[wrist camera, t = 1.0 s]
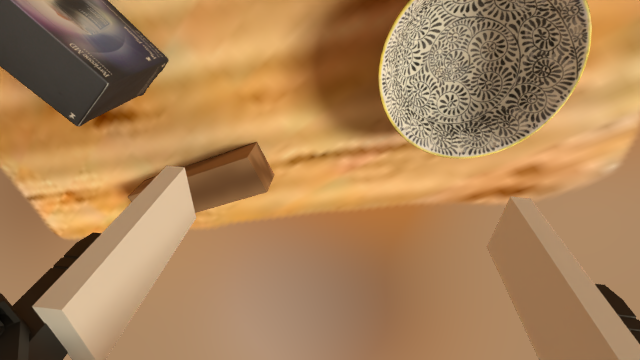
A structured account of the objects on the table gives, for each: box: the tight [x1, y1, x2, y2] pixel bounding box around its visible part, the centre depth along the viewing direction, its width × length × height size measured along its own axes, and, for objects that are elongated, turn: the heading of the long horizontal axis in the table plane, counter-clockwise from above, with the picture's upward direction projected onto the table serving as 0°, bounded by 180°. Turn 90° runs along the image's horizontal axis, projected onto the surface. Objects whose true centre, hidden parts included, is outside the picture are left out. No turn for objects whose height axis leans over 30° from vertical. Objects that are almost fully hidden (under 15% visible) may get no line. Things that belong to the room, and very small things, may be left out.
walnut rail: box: [128, 142, 274, 213], centre depth 42 cm, size 5×18×4 cm, turn 112°
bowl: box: [378, 0, 592, 159], centre depth 29 cm, size 16×16×8 cm
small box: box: [0, 0, 168, 126], centre depth 30 cm, size 11×6×10 cm, turn 42°
